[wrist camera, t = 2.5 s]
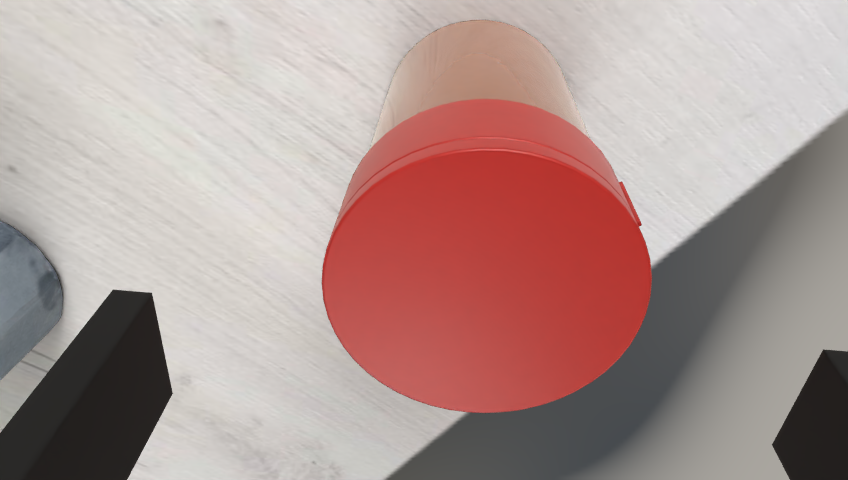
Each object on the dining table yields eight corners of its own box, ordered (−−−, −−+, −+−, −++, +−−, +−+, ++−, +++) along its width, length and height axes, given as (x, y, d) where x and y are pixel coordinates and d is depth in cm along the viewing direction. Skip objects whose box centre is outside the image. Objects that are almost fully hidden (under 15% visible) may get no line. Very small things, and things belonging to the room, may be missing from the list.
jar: (529, -16, 22) (576, 91, 13) (593, 153, 26) (670, 340, 16) (354, 69, 24) (279, 218, 15) (434, 216, 28) (417, 416, 18)
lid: (571, 43, 14) (593, 85, 12) (661, 289, 18) (693, 362, 15) (289, 170, 17) (257, 229, 14) (418, 368, 20) (411, 443, 18)
